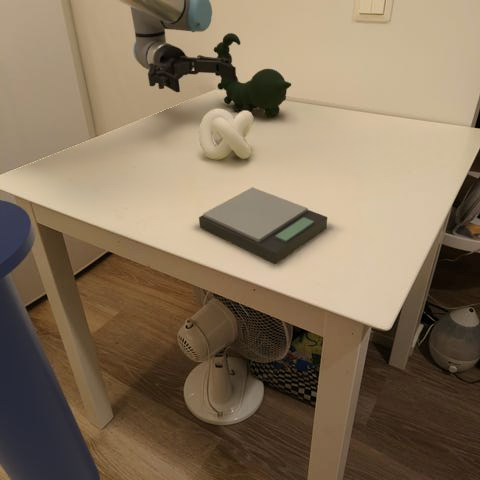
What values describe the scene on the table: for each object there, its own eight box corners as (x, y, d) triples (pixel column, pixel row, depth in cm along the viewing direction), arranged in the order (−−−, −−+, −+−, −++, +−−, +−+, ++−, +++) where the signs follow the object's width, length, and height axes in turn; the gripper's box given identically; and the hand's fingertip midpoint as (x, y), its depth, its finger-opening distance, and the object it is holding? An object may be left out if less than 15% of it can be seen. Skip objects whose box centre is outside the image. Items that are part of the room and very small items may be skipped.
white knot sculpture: (228, 140, 104) (225, 99, 98) (269, 151, 98) (269, 109, 92) (193, 156, 97) (189, 114, 92) (236, 169, 91) (234, 125, 86)
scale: (199, 227, 74) (198, 213, 72) (252, 198, 81) (252, 185, 80) (275, 264, 65) (275, 249, 64) (326, 227, 72) (327, 213, 71)
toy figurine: (212, 113, 124) (279, 125, 108) (202, 36, 114) (274, 36, 98) (237, 105, 129) (304, 115, 113) (229, 30, 119) (302, 29, 103)
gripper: (213, 69, 118) (256, 87, 103) (122, 86, 108) (154, 109, 94) (211, 37, 113) (256, 51, 98) (115, 52, 104) (148, 70, 89)
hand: (206, 79), depth 96 cm, fingers open, 13 cm apart
